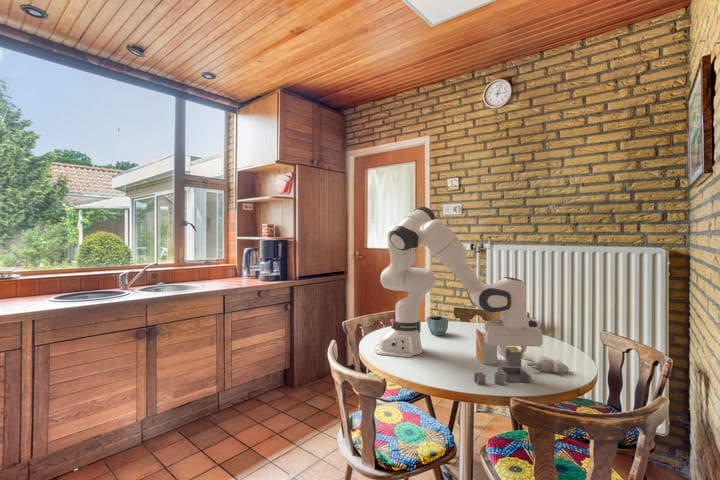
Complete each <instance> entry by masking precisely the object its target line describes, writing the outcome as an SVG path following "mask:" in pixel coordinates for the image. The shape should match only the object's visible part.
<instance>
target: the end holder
mask: <svg viewBox="0 0 720 480" xmlns="http://www.w3.org/2000/svg"><path fill="white" fill-rule="evenodd" d="M496 372H497V373H503V374H504V383H515V384H516V383H522V384H524V383H525V384H529V383H530V384H531V383H532V381H531V380H532V378H531V377H532V376H531V375H530V373H528V372H527V371H526V370H525V369H524V368H523V367H522V366H521V367H510V366H509V365H508V366H503V365H502V366H501V365H497V366H496Z"/></svg>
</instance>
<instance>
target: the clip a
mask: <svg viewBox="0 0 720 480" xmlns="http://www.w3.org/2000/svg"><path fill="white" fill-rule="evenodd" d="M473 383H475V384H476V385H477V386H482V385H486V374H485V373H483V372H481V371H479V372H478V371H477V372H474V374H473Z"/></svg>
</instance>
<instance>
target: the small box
mask: <svg viewBox="0 0 720 480" xmlns="http://www.w3.org/2000/svg"><path fill="white" fill-rule="evenodd" d="M475 332H476V335H475V336H476V338H475V341H476V342H475V348H476V349H475V351H476V352H475V353H476V355H475V356H476V357H475V358H477V359H478V360H479V362H481V364H482V365H495V364H496V365H497V364H498V354H497V346H495V345H488V344H487V343H486V342H485V327H484V328H483V327H481V328H480V327H479V328H476V330H475Z"/></svg>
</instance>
